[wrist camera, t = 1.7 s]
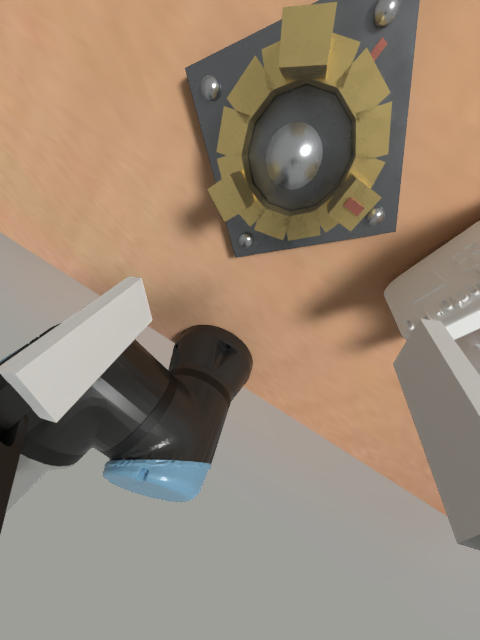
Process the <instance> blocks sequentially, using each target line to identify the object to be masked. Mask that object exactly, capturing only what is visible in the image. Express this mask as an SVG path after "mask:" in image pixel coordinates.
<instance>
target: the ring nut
mask: <svg viewBox="0 0 480 640" xmlns="http://www.w3.org/2000/svg"><path fill="white" fill-rule="evenodd" d="M336 7H337V2H330V3H321V4H312V5H303V6H294V7H285V8H283V14H282V28H281V40H280V41H278V42H276V43H274V44H272V45H270V46H268V47H266V48H264V49H262V56H263V63H264V67H263V66H262V64H261V63H260V61H259V60H258V58H257V57H256V56H254V58H253V59H252V61H251V62H250V64H249V65H248V67H247V68H246V70H245V71H244V73H243V75H242V76H241V78H240V79H239V81H238V82H237V84H236V85H235V87H234V88H233V90H232V91H231V93H230V94H229V96H228V97H227V99H228V101H229V102H230V104H231V105H232V106H233V108H234V109H235V110H234V109H231V108H228V107H225V106H224V108H223V114H222V120H221V127H220V133H219V139H218V145H217V151H216V152H218V153H221V154H224V155H226V156H224V157H221V158H218V159H217V162H218V166H219V170H220V174H221V178H222V179H221V180H220V181H219V182H217V183H216V184H214V185H213V186H211V187H210V188H208V189H207V190H208V192H209V194H210V196H211V198H212V200H213V201H214V203H215V205H216V207H217V209H218V211H219V213H220V215H221V216H222V218H223V220H224V222H225V221H227V220H229V219H231V218H232V217H234V216H236V215H238V214H240V216H241V217H242V218H243V219H244V220H245V221H246V223H247V224H248V225H249V226H250V227H251V226H252V225H253V224H254V223H255V222H256V221H257V222H256V226H255V229H254V230H256V231H259V232H262V233H264V234H267V235H270V236H272V237H275V238H278V239H281V240H283V239H284V236H285V234H286V231H287V237H288V241H290V240H296V239H301V238H307V237H313V236H319V235H321V233H320V225H321V227H322V228H323V230H324V231H325V232H328V231H329V230H330V229H332V228H333V227H334V226H336V225H337V224H339V223H340V224H341V225H343V226H344V227H345V228H347V229H348V230H349V231H352V230H353V229H354V227H355V226H356V225H357V224H358V223H359V222H360V221H361V220H362V219H363V218H364V217H365V215H366V214H367V213H368V212H369V211H370V210H371V209H372V208H373V207H374V206H375V205H376V204H377V202H378V201H379V200H380V199H381V198H382V197H380V196H379V195H378V194H377V193H375V192H374V191H373V190H372V189H371V188H372V186H373V184H374V182H375V180H376V179H377V177H378V175H379V173H380V172H381V170H382V168H383V166H384V164H385V163H386V162H384V161H381V160H378V159H375V158H376V157H380V156H383V155H387V154H388V150H389V137H390V123H391V110H392V101H391V102H388V103H385V104H382V105H379V106H377V105H378V104H379V103H380V102H381V101H382V100H383V99H385V98H386V97H387V96H388V95H389V94H390V93H391V92H390V91H389V89H388V87H387V85H386V83H385V81H384V79H383V77H382V75H381V73H380V72H379V70H378V68H377V66H376V64H375V62H374V60H373V58H372V56H371V54H370V52H369V51H368V49H367V48H366V49H365V50H364V51H363V52H362V53H361V54H360V55H359V56H358V58H357V59H356V60H355V61H354V62H353V60H354V58H355V55H356V53H357V50H358V48H359V45H360V41H356V40H353V39H350V38H347V37H344V36H341V35H338V34H335V33H333V28H334V21H335V14H336ZM304 84H309V85H312V86H315V87H318V88H321V89H324V90H327V91H330V92H333V93H336V95H337V97H338V98H339V100H340V102H341V103H342V105H343V107H344V108H345V110H346V112H347V113H348V115H349V117H350V118H351V120H352V158H351V160H350V162H349V164H348V166H347V168H346V171H345V173H344V175H343V177H342V179H341V181H340V183H339V185H338V187H337V188H336V189H335V190H334V191H332V192H331V193H330V194H329V195H328V196H326V197H325V198H324V199H323V200H322V201H320V202H319V203H318V204H317V205H316V206H313V207H308V208H303V209H299V210H294V211H289V210H286V209H283V208H280V207H277V206H275V205H272V204H269V203H268V202H267V201H266V199H265V198H264V197H263V196H262V194H261V193H260V192H259V191H258V189H257V188H256V187H255V186H254V184H253V181H252V176H251V171H250V166H249V161H248V150H249V146H250V142H251V138H252V133H253V129H254V125H255V122H256V121H257V119H258V118H259V117H260V116H261V114H262V113H263V112H264V110H265V109H266V108H267V107H268V105H269V104H270V103H271V101H272V100H273V99H274V98H275V96H276V95H279V94H281V93H284V92H286V91H289V90H291V89H294V88H296V87H299V86H301V85H304Z"/></svg>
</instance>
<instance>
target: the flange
mask: <svg viewBox="0 0 480 640" xmlns="http://www.w3.org/2000/svg"><path fill="white" fill-rule="evenodd" d="M330 2H337V7H336V14H335V21H334V28H333V33H335V34H338V35H341V36H344V37H347V38H350V39H353V40H356V41H360V45H359V48H358V50H357V53H356V55H355V58H354V60H353V62H354V61H355V60H356V59H357V58H358V56H359V55H360V54H361V53H362V52H363V51H364V50H365V49H366V48H367V49H368V51H369V52H370V54H371V56H372V58H373V60H374V62H375V64H376V66H377V68H378V70H379V72H380V73H381V75H382V77H383V79H384V81H385V83H386V85H387V87H388V89H389V91H390V92H391V93H390V94H389V95H388V96H387V97H386V98H385V99H383V100H382V101H381V102H380V103H379V104H378V105H377V106H379V105H382V104H385V103H388V102H391V101H392V110H391V123H390V137H389V150H388V154H387V155H383V156H380V157H376V158H375V159H378V160H381V161H384V162H386V163H385V164H384V166H383V168H382V170H381V172H380V173H379V175H378V177H377V179H376V180H375V182H374V184H373V186H372V188H371V189H372V190H373V191H374V192H375V193H377V194H378V195H379V196H380V197H382V198H381V199H380V200H379V201H378V202H377V204H376V205H375V206H374V207H373V208H372V209H371V210H370V211H369V212H368V213H367V214H366V215H365V217H364V218H363V219H362V220H361V221H360V222H359V223H358V224H357V225H356V226H355V227H354V229H353V230H352V231H349V230H348V229H347V228H345V227H344V226H343V225H341V224H340V223H339V224H337V225H336V226H334V227H333V228H332V229H330V230H329V231H328V232H325V231H324V230H323V228H322V227H321V225H320V233H321V235H319V236H313V237H307V238H301V239H296V240H290V241H288V237H287V231H286V234H285V236H284V239H283V240H281V239H278V238H275V237H272V236H270V235H267V234H264V233H262V232H259V231H256V230H254V229H255V226H256V222H257V221H256V222H255V223H254V224H253V225H252V226H251V227H250V226H249V225H248V224H247V223H246V221H245V220H244V219H243V218H242V217H241V216H240V214H238V215H236V216H234V217H232V218H231V219H229V220H227V221H226V224H227V227H228V231H229V235H230V239H231V242H232V246H233V250H234V254H235V257H241V256H248V255H254V254H260V253H266V252H272V251H279V250H285V249H291V248H297V247H304V246H310V245H316V244H322V243H328V242H335V241H341V240H347V239H353V238H360V237H366V236H372V235H378V234H384V233H391V232H396V223H397V213H398V204H399V194H400V184H401V175H402V165H403V155H404V146H405V136H406V126H407V117H408V107H409V97H410V88H411V78H412V68H413V59H414V49H415V39H416V30H417V20H418V10H419V0H319V1H317V2H315V3H313V4H321V3H330ZM311 5H312V4H311ZM281 28H282V19H281V20H279V21H277V22H275V23H273V24H271V25H269V26H268V27H266V28H264V29H262V30H260V31H258V32H256V33H254V34H252V35H250V36H248V37H246V38H244V39H242V40H240V41H238V42H236V43H234V44H232V45H230V46H228V47H226V48H224V49H222V50H220V51H218V52H216V53H214V54H212V55H210V56H208V57H206V58H204V59H202V60H200V61H198V62H196V63H194V64H192V65H190V66H188V67H186V68H185V70H186V74H187V78H188V81H189V85H190V89H191V93H192V96H193V100H194V104H195V108H196V111H197V115H198V119H199V123H200V126H201V130H202V134H203V138H204V141H205V145H206V149H207V152H208V156H209V160H210V164H211V167H212V171H213V175H214V179H215V182H216V183H217V182H219V181H220V180H221V179H222V178H221V174H220V170H219V166H218V162H217V159H218V158H221V157H224V156H226V155H224V154H221V153H218V152H216V151H217V145H218V139H219V133H220V127H221V120H222V114H223V108H224V106H225V107H228V108H231V109H234V108H233V106H232V105H231V104H230V102H229V101H228V99H227V97H228V96H229V94H230V93H231V91H232V90H233V88H234V87H235V85H236V84H237V82H238V81H239V79H240V78H241V76H242V75H243V73H244V71H245V70H246V68H247V67H248V65H249V64H250V62H251V61H252V59H253V58H254V56H256V57H257V58H258V60H259V61H260V63H261V64H262V66H263V67H264V63H263V56H262V49H264V48H266V47H268V46H270V45H272V44H274V43H276V42H278V41H280V40H281ZM234 110H235V109H234ZM351 158H352V120H351V118H350V117H349V115H348V113H347V112H346V110H345V108H344V107H343V105H342V103H341V102H340V100H339V98H338V97H337V95H336V93H333V92H330V91H327V90H324V89H321V88H318V87H315V86H312V85H309V84H304V85H301V86H299V87H296V88H294V89H291V90H289V91H286V92H284V93H281V94H279V95H276V96H275V98H274V99H273V100H272V101H271V103H270V104H269V105H268V107H267V108H266V109H265V110H264V112H263V113H262V114H261V116H260V117H259V118H258V119H257V121H256V122H255V125H254V129H253V133H252V138H251V142H250V146H249V150H248V161H249V166H250V171H251V176H252V181H253V184H254V186H255V187H256V188H257V189H258V191H259V192H260V193H261V194H262V196H263V197H264V198H265V199H266V201H267V202H268V203H269V204H272V205H275V206H277V207H280V208H283V209H286V210H289V211H294V210H299V209H303V208H308V207H313V206H316V205H317V204H318V203H319V202H320V201H322V200H323V199H324V198H325V197H326V196H328V195H329V194H330V193H331V192H332V191H334V190H335V189H336V188H337V187H338V185H339V183H340V181H341V179H342V177H343V175H344V173H345V171H346V168H347V166H348V164H349V162H350V160H351Z"/></svg>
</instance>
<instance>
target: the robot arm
mask: <svg viewBox="0 0 480 640" xmlns="http://www.w3.org/2000/svg"><path fill="white" fill-rule="evenodd" d="M151 321H152V316H151V312H150V308H149V305H148V301H147V297H146V293H145V289H144V285H143V281H142V278H137V277H130V276H128V277H127V278H126V279H124V280H123V281H121V282H120V283H118V284H117V285H116V286H114V287H113V288H111V289H110V290H108V291H107V292H106V293H104V294H103V295H101V296H100V297H98V298H97V299H95V300H94V301H93V302H91V303H90V304H88V305H87V306H85V307H84V308H83V309H81V310H80V311H78V312H77V313H75V314H74V315H73V316H71V317H70V318H68V319H67V320H65V321H64V322H62V323H60V324H58V325H56V326H53V327H51V328H50V329H48V330H47V331H45V332H44V333H43V334H41V335H40V336H39V337H37V338H35V339H34V340H32V341H31V342H30V343H29V344H26V345H25V346H23V347H22V348H20V349H19V350H17V351H15V352H14V353H12V354H10V355H9V356H7V357H6V358H4V359H2V360H1V361H0V533H1V529H2V525H3V521H4V517H5V513H6V511H8V510H9V509H10V508H11V507H12V506H13V505H14V504H15V503H16V502H17V501H18V500H19V499H20V498H21V497H22V496H23V495H24V494H25V493H26V492H27V491H28V490H29V489H30V488H31V487H32V486H33V485H34V484H35V483H36V482H37V481H38V480H39V479H40V478H41V477H42V476H43V475H44V474H45V473H46V472H47V471H49V470H58V469H65V468H68V467H71V466H73V465H74V464H75V463H76V462H77V461H78V460H79V459H80V458H81V457H82V456H83V455H84V454H85V453H86V452H87V451H88V450H89V449H91V448H95V449H97V450H98V451H100V452H102V453H103V454H104V455H106V456H107V457H109V458H110V461H108V462H107V463H106V464H105V468H104V471H103V476H104V478H105V479H108V480H109V482H111V483H112V484H115V485H117V486H119V487H121V488H124V489H126V490H129V491H132V492H135V493H138V494H141V495H145V496H148V497H152V498H156V499H161V500H166V501H173V502H185V501H189V500H191V499H193V498H194V497H196V495H198V493H199V491H200V490H201V487H202V485H203V482H204V480H205V477H206V475H207V472H208V470H209V469H210V468H211V462H212V459H213V456H214V453H215V450H216V447H217V444H218V440H219V437H220V434H221V431H222V428H223V425H224V422H225V418H226V415H227V412H228V409H229V406H230V403H231V401H232V400H233V398H234V397H235V396H236V395H237V393H238V392H239V391H240V389H241V388H242V387H243V385H244V384H245V383H246V382H247V380H248V379H249V376H250V373H251V370H252V365H253V361H252V356H251V354H250V351H249V350H248V348H247V347H246V345H245V344H244V343H243V342H242V341H241V340H240V339H239V338H238V337H236V336H235V335H233V334H232V333H230V332H228V331H226V330H224V329H222V328H219V327H215V326H209V325H198V326H194V327H191V328H189V329H187V330H185V331H184V332H183V333H182V334H181V336H180V337H179V339H178V340H177V341H176V343H175V346H174V349H173V354H172V358H171V362H170V366H169V370H167V369H166V368H165V367H164V366H162V364H161V363H160V362H158V361H157V360H156V359H155V358H154V357H153V356H152V355H151V354H150V353H149V352H148V351H147V350H146V349H145V348H144V347H143V346H141V345H140V344H139V343H138V342H137V341H136V340H135V339H136V337H137V336H138V335H139V334H140V333H141V332H142V331H143V330H144V329H145V328H146V327H147V326H148V325H149V324H150V322H151ZM393 365H394V368H395V371H396V373H397V376H398V379H399V382H400V385H401V387H402V390H403V393H404V396H405V399H406V401H407V404H408V407H409V410H410V413H411V415H412V418H413V421H414V424H415V427H416V429H417V432H418V435H419V438H420V440H421V443H422V446H423V449H424V452H425V454H426V457H427V460H428V463H429V466H430V468H431V471H432V474H433V477H434V480H435V482H436V485H437V488H438V491H439V494H440V496H441V499H442V502H443V505H444V508H445V510H446V513H447V516H448V519H449V522H450V524H451V527H452V530H453V533H454V535H455V538H456V541H457V543H458V544H461V545H464V546H468V547H471V548H474V549H478V550H480V375H479V374H478V372H477V371H476V370H475V368H474V367H473V365H472V364H471V363H470V361H469V360H468V358H467V357H466V356H465V354H464V353H463V352H462V350H461V349H460V347H459V346H458V345H457V343H456V342H455V340H454V339H453V338H452V336H451V335H450V333H449V332H448V331H447V329H446V328H445V326H444V325H443V324H442V322H441V321H435V320H428V319H421V318H420V319H419V321H418V323H417V324H416V326H415V328H414V329H413V331H412V333H411V334H410V336H409V338H408V340H407V341H406V343H405V345H404V346H403V348H402V350H401V351H400V353H399V355H398V356H397V358H396V360H395V362H394V363H393Z"/></svg>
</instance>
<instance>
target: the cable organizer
mask: <svg viewBox="0 0 480 640" xmlns="http://www.w3.org/2000/svg"><path fill="white" fill-rule="evenodd" d="M384 297H385V299H386V301H387V304H388V306H389V308H390V310H391V313H392V315H393V317H394V319H395V322H396V324H397V326H398V328H399V331H400V333H401V335H402V336H403V337H404V338H405V339H406V340H408V338H409V336H410V334H411V333H412V331H413V329H414V328H415V326H416V324H417V323H418V321H419V319H420V318H421V319H428V320H435V321H441V322H442V324H443V325H444V326H445V328H446V329H447V331H448V332H449V333H450V335H451V336H452V338H453V339H454V340H455V342H456V343H457V345H458V346H459V347H460V349H461V350H462V352H463V353H464V354H465V356H466V357H467V358H468V360H469V361H470V363H471V364H472V365H473V367H474V368H475V370H476V371H477V372H478V374H479V375H480V220H479V221H478V222H476V223H475V224H473V225H472V226H470V227H469V228H468V229H466V230H465V231H463V232H462V233H460V234H459V235H457V236H456V237H454V238H453V239H452V240H450V241H449V242H447V243H446V244H444V245H443V246H441V247H440V248H439V249H437V250H436V251H434V252H433V253H431V254H430V255H428V256H427V257H425V258H424V259H423V260H421V261H420V262H418V263H417V264H415V265H414V266H412V267H411V268H409V269H408V270H407V271H405V272H404V273H402V274H401V275H399V276H398V277H397V278H395V279H394V280H393V281H392V282H391V283H390V284H389V285H388V286H387V288H386V289H385V291H384Z"/></svg>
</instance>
